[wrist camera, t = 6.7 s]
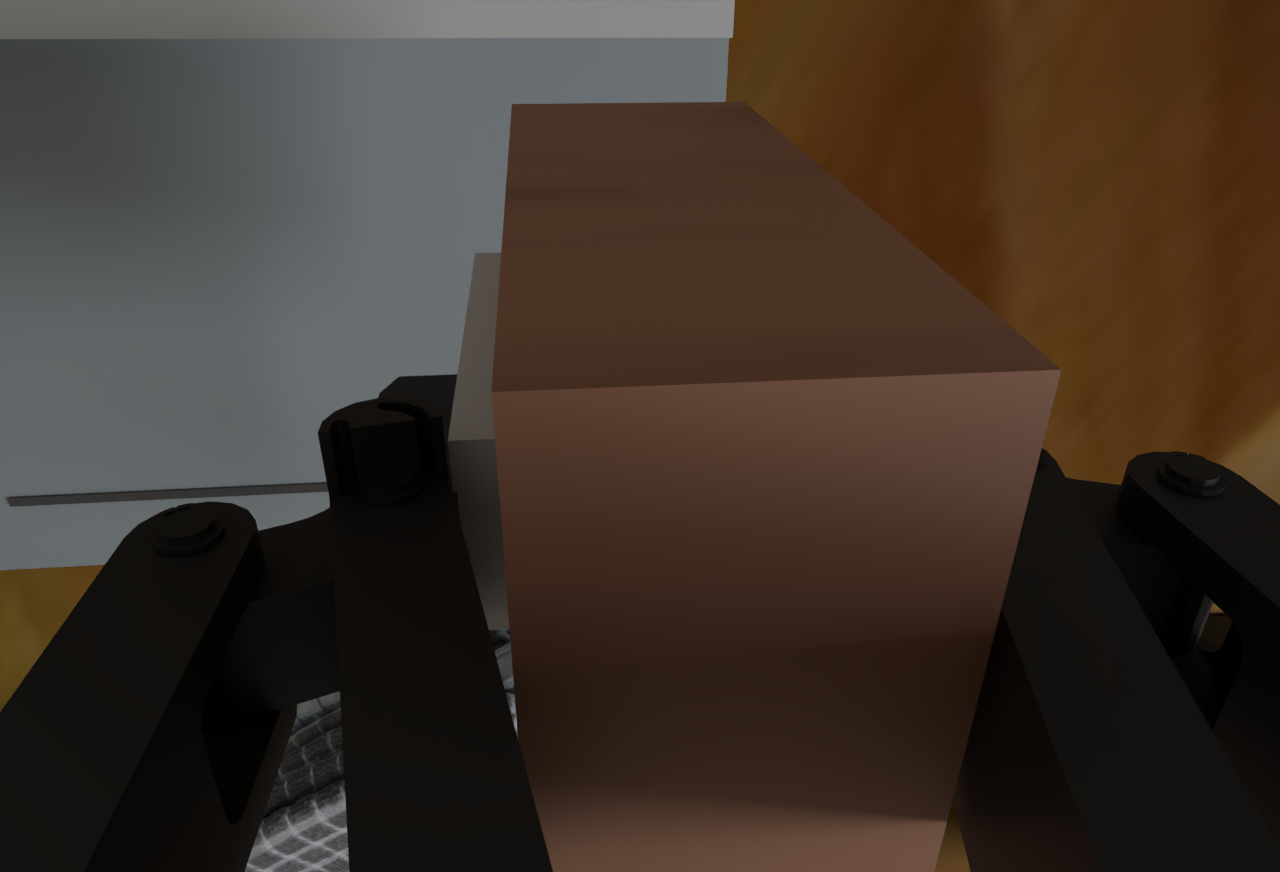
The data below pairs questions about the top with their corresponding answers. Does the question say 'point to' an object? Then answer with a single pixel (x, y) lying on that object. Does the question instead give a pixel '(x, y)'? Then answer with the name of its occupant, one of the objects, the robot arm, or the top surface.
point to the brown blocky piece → (743, 498)
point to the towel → (324, 787)
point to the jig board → (261, 227)
